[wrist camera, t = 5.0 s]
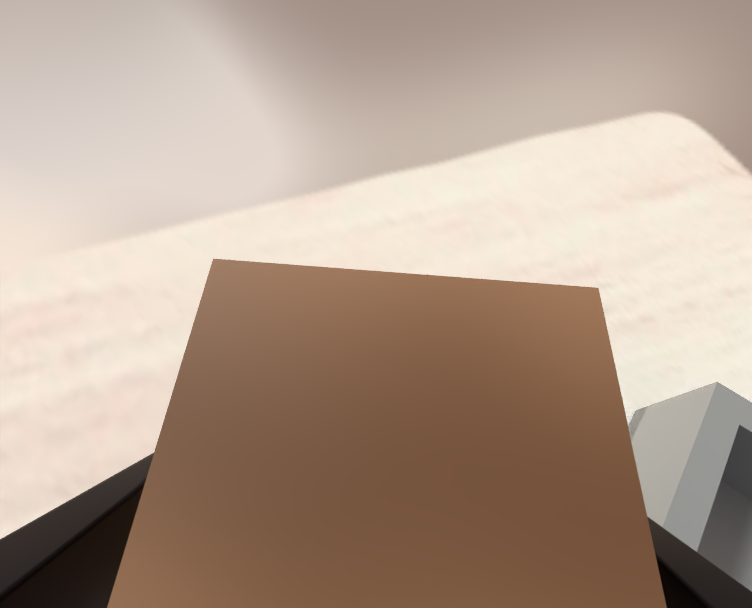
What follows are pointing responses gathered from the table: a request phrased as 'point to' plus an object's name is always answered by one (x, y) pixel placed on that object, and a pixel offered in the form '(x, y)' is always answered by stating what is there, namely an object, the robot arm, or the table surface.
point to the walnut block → (391, 450)
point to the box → (700, 473)
